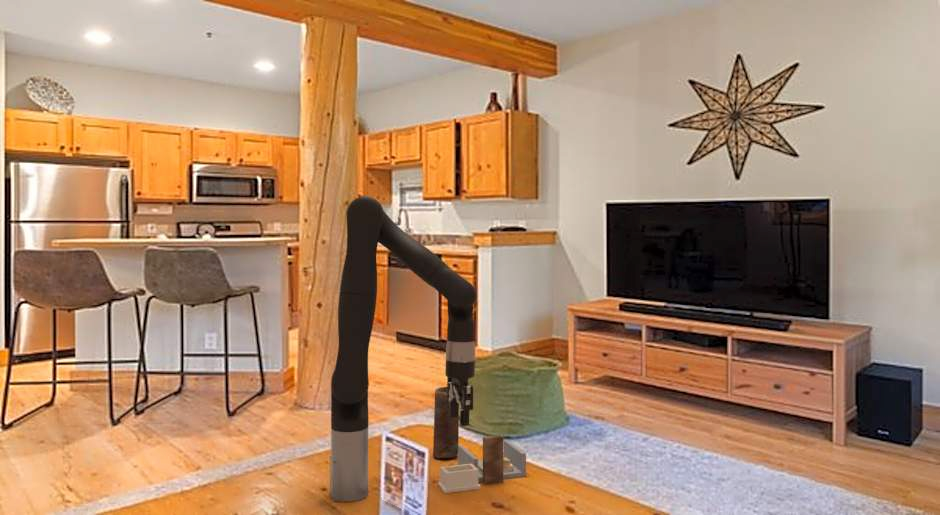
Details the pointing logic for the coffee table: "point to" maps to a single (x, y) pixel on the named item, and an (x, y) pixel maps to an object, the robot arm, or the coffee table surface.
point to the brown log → (444, 427)
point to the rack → (510, 452)
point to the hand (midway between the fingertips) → (459, 421)
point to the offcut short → (506, 462)
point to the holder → (458, 478)
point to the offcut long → (505, 469)
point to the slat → (492, 459)
